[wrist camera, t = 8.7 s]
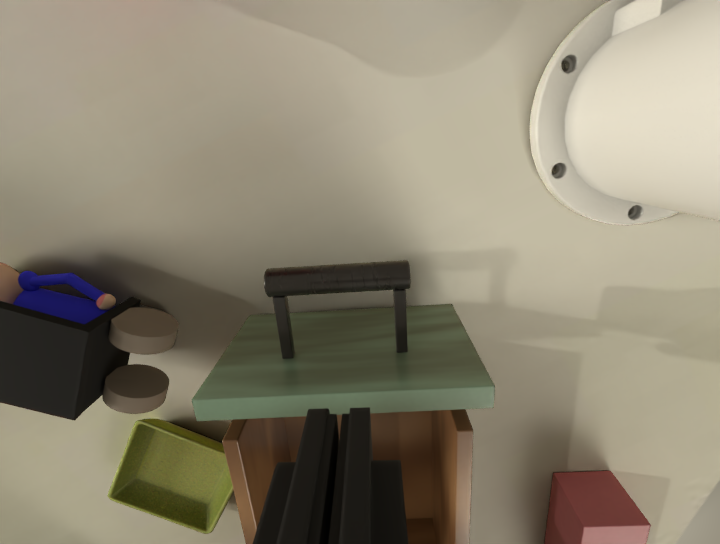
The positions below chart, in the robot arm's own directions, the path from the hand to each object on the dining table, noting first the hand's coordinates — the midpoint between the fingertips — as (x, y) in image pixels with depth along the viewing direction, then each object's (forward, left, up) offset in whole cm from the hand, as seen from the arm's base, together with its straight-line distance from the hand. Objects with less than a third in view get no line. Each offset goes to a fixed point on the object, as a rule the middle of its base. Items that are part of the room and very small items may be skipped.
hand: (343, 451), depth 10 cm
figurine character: (+2, -19, -16) cm, 25 cm away
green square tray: (+16, -15, -16) cm, 27 cm away
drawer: (+9, -1, -15) cm, 18 cm away
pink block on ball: (+25, +17, -16) cm, 34 cm away
